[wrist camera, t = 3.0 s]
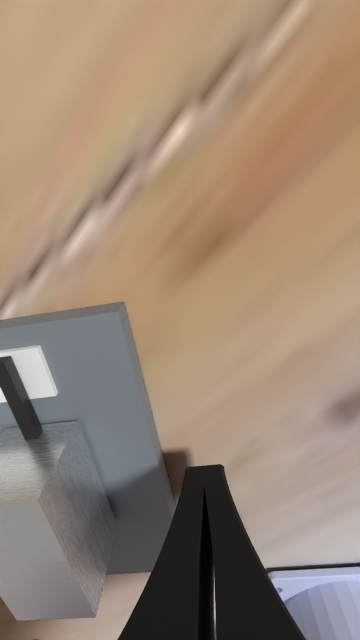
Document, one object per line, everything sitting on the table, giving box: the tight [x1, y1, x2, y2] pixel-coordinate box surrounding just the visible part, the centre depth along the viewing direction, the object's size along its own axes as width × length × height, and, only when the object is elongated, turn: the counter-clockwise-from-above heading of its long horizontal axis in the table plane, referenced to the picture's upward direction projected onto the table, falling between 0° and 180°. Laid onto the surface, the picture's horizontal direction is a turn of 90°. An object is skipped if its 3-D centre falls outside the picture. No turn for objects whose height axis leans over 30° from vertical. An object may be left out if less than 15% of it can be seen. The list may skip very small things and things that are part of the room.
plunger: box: [0, 356, 117, 621], centre depth 10 cm, size 9×3×3 cm, turn 10°
